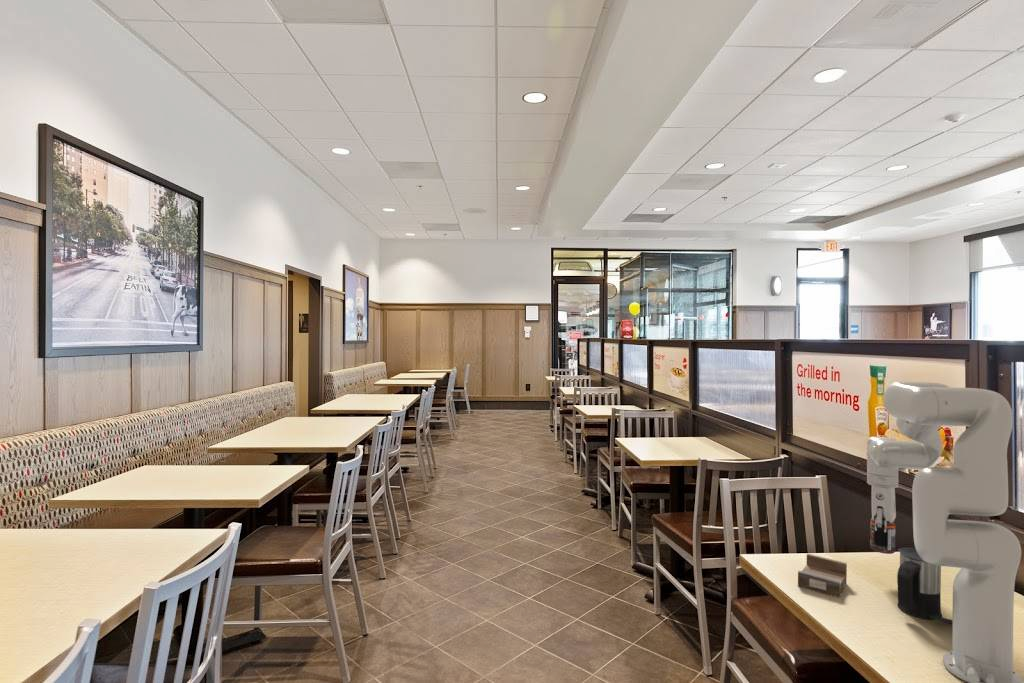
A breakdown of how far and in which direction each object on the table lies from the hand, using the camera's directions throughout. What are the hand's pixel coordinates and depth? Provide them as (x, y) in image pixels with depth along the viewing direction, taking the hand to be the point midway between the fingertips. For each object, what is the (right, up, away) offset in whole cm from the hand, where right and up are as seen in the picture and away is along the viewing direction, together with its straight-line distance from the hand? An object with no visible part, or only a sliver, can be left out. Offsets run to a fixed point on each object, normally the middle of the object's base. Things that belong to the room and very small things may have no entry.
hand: (882, 541), depth 155 cm
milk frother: (-2, -12, -22) cm, 25 cm away
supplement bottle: (0, -3, 0) cm, 3 cm away
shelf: (-20, -11, -3) cm, 23 cm away
